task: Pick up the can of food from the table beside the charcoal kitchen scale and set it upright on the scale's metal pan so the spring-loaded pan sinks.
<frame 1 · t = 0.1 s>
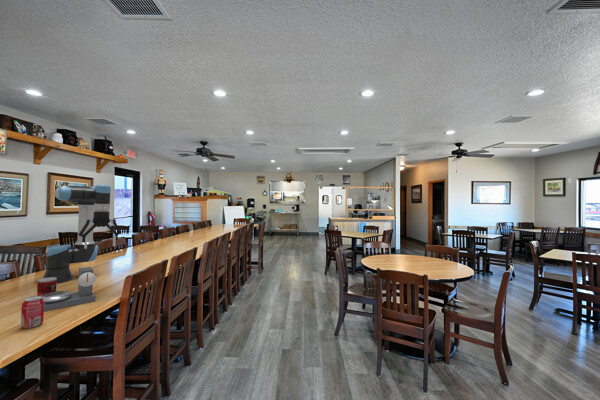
hand: (100, 247, 155), 28 cm above the table, tool pointing down, fingers open, 13 cm apart
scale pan: (54, 297, 138), point 4 cm above the table, slide at 0.3 cm
soda can: (32, 326, 116), on the table
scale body: (64, 303, 141), on the table
canned food: (46, 299, 146), on the table
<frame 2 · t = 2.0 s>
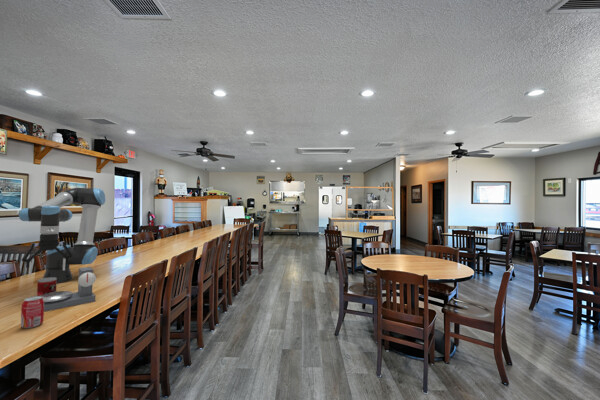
hand: (47, 272, 146), 15 cm above the table, tool pointing down, fingers open, 13 cm apart
nothing on the table moved.
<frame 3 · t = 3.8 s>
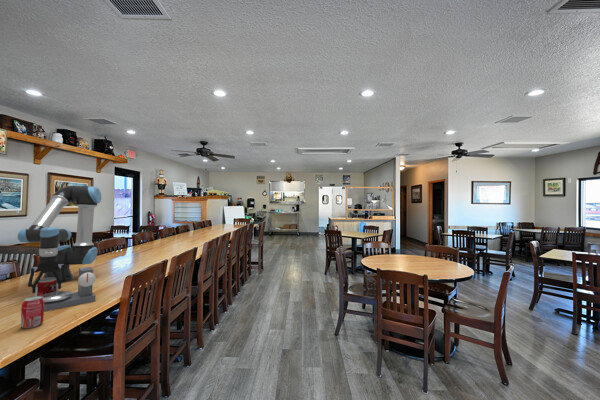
hand: (46, 296, 146), 1 cm above the table, tool pointing down, fingers closed on canned food, 8 cm apart
canned food: (46, 299, 146), on the table, touching gripper
everything else where it was.
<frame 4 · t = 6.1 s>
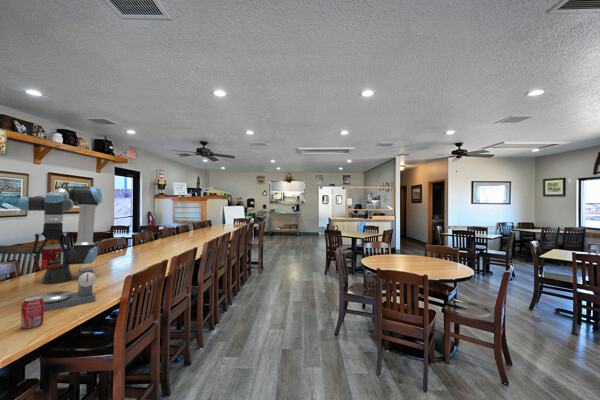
hand: (51, 265, 142), 20 cm above the table, tool pointing down, fingers closed on canned food, 8 cm apart
canned food: (50, 267, 141), point 19 cm above the table, touching gripper
everything else where it was.
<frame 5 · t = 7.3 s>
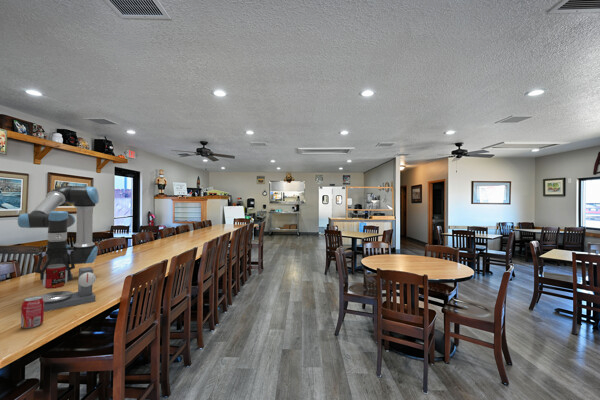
hand: (55, 284, 138), 11 cm above the table, tool pointing down, fingers closed on canned food, 8 cm apart
canned food: (54, 286, 138), point 10 cm above the table, touching gripper
everything else where it was.
when the fingers open (8 cm above the table, at t = 8.4 s): canned food drops 2 cm, resting on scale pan.
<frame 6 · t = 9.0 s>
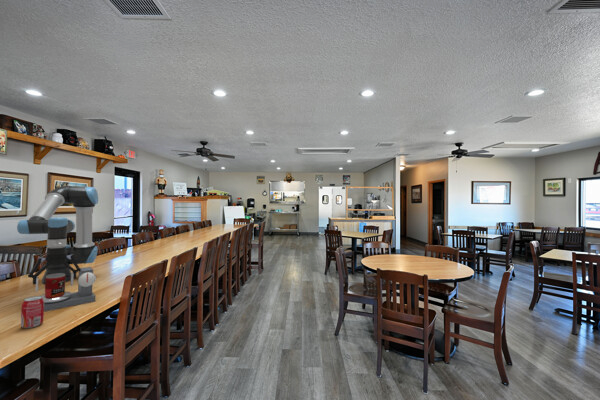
hand: (54, 287, 138), 9 cm above the table, tool pointing down, fingers open, 13 cm apart
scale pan: (54, 297, 138), point 4 cm above the table, slide at 0.6 cm, touching canned food
canned food: (54, 296, 138), point 5 cm above the table, touching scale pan
everything else where it was.
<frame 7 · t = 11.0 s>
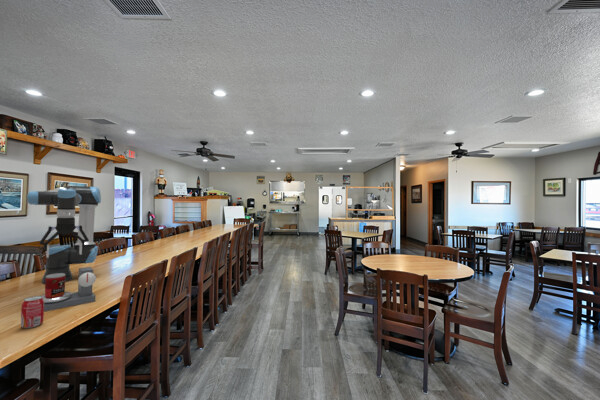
hand: (64, 255, 145), 24 cm above the table, tool pointing down, fingers open, 13 cm apart
nothing on the table moved.
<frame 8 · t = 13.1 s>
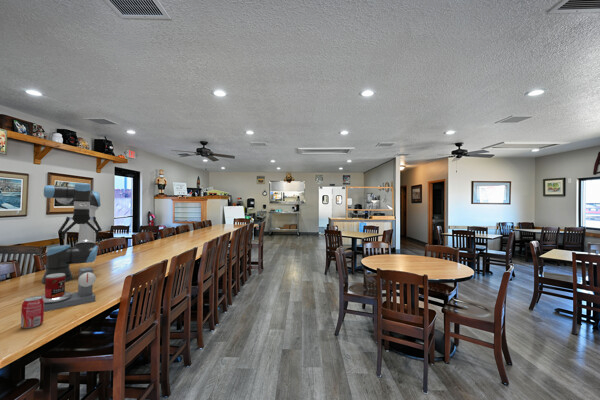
hand: (80, 243, 159), 29 cm above the table, tool pointing down, fingers open, 13 cm apart
nothing on the table moved.
at the end: canned food 0.0 cm off-centre on the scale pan, point 5.2 cm above the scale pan's base; canned food tilted 0°; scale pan slide at 0.6 cm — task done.
